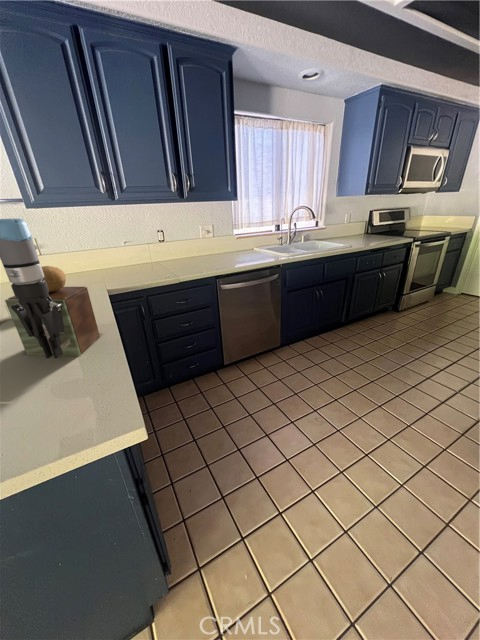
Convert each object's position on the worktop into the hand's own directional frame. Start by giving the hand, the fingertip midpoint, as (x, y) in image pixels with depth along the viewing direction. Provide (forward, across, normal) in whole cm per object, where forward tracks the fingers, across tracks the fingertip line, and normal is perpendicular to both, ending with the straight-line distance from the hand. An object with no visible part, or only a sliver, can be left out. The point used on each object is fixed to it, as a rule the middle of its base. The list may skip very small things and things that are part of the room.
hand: (54, 355), depth 80 cm
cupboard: (+4, -6, +14) cm, 16 cm away
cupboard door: (+4, -6, +4) cm, 9 cm away
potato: (-15, -6, +15) cm, 23 cm away
